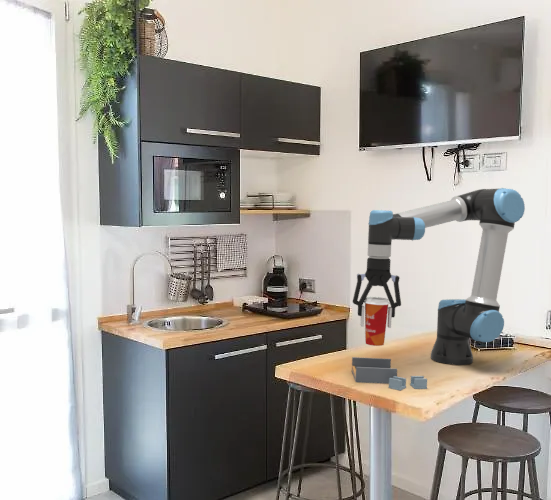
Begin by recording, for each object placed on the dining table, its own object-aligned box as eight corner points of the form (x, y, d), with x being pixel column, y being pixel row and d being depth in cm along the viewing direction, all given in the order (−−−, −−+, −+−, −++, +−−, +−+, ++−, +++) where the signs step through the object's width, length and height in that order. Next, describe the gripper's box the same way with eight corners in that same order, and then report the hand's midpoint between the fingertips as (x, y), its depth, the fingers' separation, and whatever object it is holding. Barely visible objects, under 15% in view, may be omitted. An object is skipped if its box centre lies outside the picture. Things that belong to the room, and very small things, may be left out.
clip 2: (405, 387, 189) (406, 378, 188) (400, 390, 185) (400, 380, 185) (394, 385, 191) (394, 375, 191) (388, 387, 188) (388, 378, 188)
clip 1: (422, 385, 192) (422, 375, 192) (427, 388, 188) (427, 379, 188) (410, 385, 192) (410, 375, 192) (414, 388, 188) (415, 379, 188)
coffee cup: (359, 340, 202) (361, 296, 201) (383, 341, 203) (385, 297, 202) (365, 346, 194) (367, 300, 193) (390, 346, 195) (392, 300, 194)
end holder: (389, 372, 206) (390, 358, 206) (396, 384, 192) (397, 369, 192) (351, 371, 206) (352, 357, 206) (355, 382, 193) (356, 367, 193)
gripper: (409, 257, 200) (405, 325, 202) (345, 255, 201) (342, 323, 202) (413, 259, 193) (409, 330, 194) (347, 257, 193) (344, 327, 195)
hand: (375, 326), depth 198 cm, fingers closed on coffee cup, 8 cm apart
